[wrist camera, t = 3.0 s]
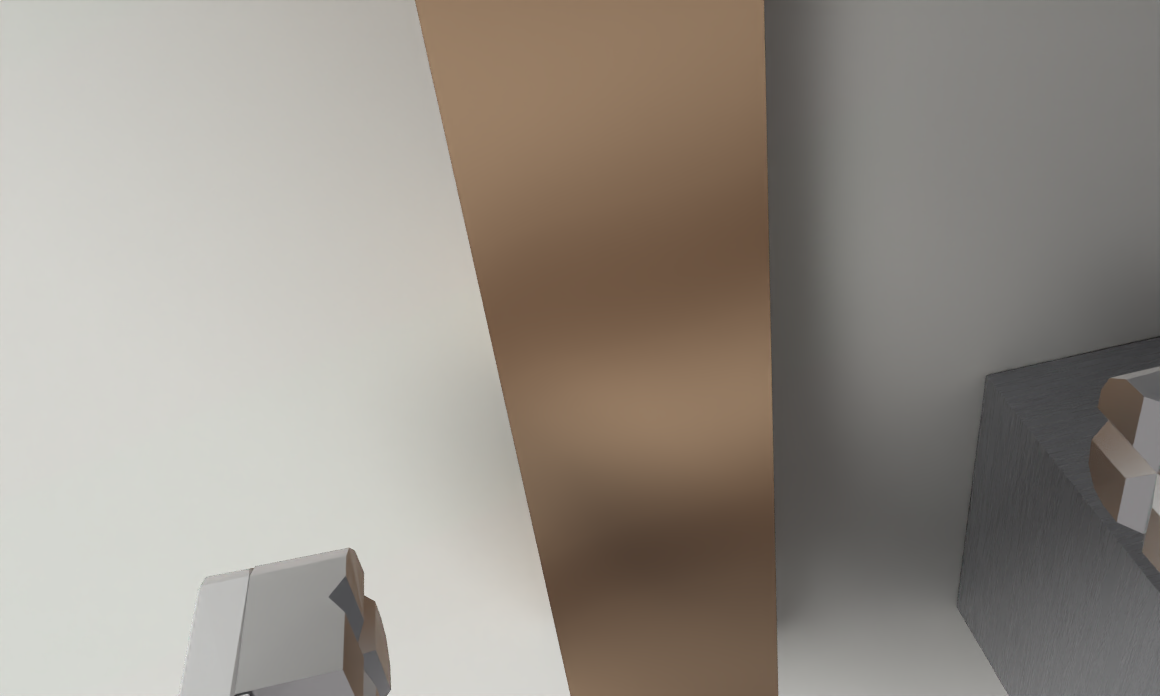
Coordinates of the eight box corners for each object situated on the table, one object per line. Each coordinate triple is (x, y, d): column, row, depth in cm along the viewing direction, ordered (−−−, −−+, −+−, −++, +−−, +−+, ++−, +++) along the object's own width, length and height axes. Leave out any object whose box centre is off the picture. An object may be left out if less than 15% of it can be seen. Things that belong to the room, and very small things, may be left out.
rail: (182, -1101, 10) (68, -1549, 6) (586, -1149, 10) (731, -1611, 6) (557, 611, 26) (593, 799, 22) (714, 576, 26) (778, 756, 22)
